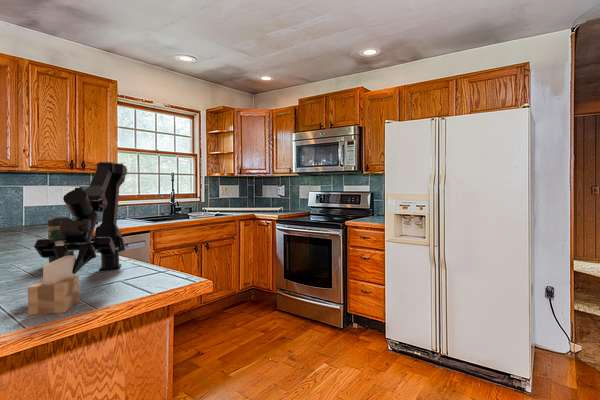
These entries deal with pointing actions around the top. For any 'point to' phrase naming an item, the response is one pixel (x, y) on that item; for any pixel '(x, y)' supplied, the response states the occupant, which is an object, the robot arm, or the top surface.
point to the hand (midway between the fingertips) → (67, 273)
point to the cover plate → (58, 270)
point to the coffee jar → (56, 231)
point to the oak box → (53, 296)
